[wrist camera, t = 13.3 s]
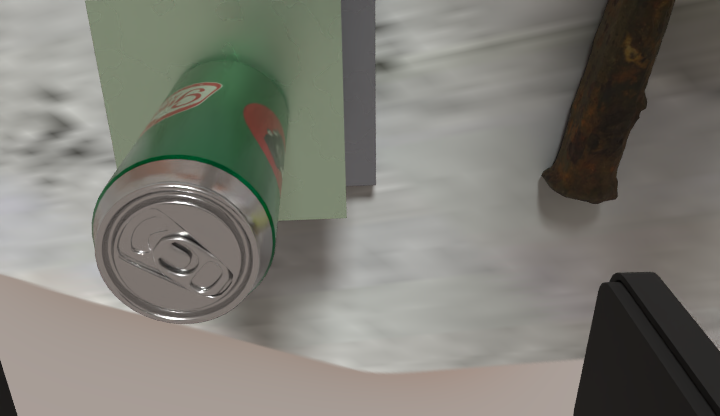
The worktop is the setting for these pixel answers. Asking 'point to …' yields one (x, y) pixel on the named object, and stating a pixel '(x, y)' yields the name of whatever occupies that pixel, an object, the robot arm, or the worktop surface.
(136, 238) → the soda can
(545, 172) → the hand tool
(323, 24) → the stand
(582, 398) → the robot arm
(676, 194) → the worktop surface
